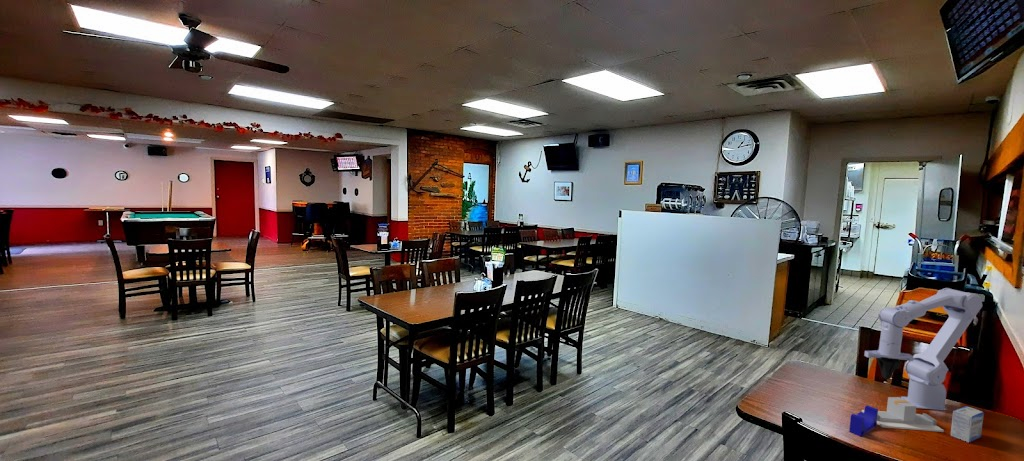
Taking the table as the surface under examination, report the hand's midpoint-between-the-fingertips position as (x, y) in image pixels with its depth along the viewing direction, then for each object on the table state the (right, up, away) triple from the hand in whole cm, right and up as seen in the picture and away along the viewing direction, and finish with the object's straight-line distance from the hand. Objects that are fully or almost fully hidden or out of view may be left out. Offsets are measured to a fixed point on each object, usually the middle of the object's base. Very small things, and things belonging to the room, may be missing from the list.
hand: (885, 377), depth 154 cm
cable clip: (-20, -12, -13) cm, 27 cm away
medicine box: (+10, -13, -18) cm, 24 cm away
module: (-3, -10, -9) cm, 14 cm away
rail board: (-3, -11, -9) cm, 15 cm away
